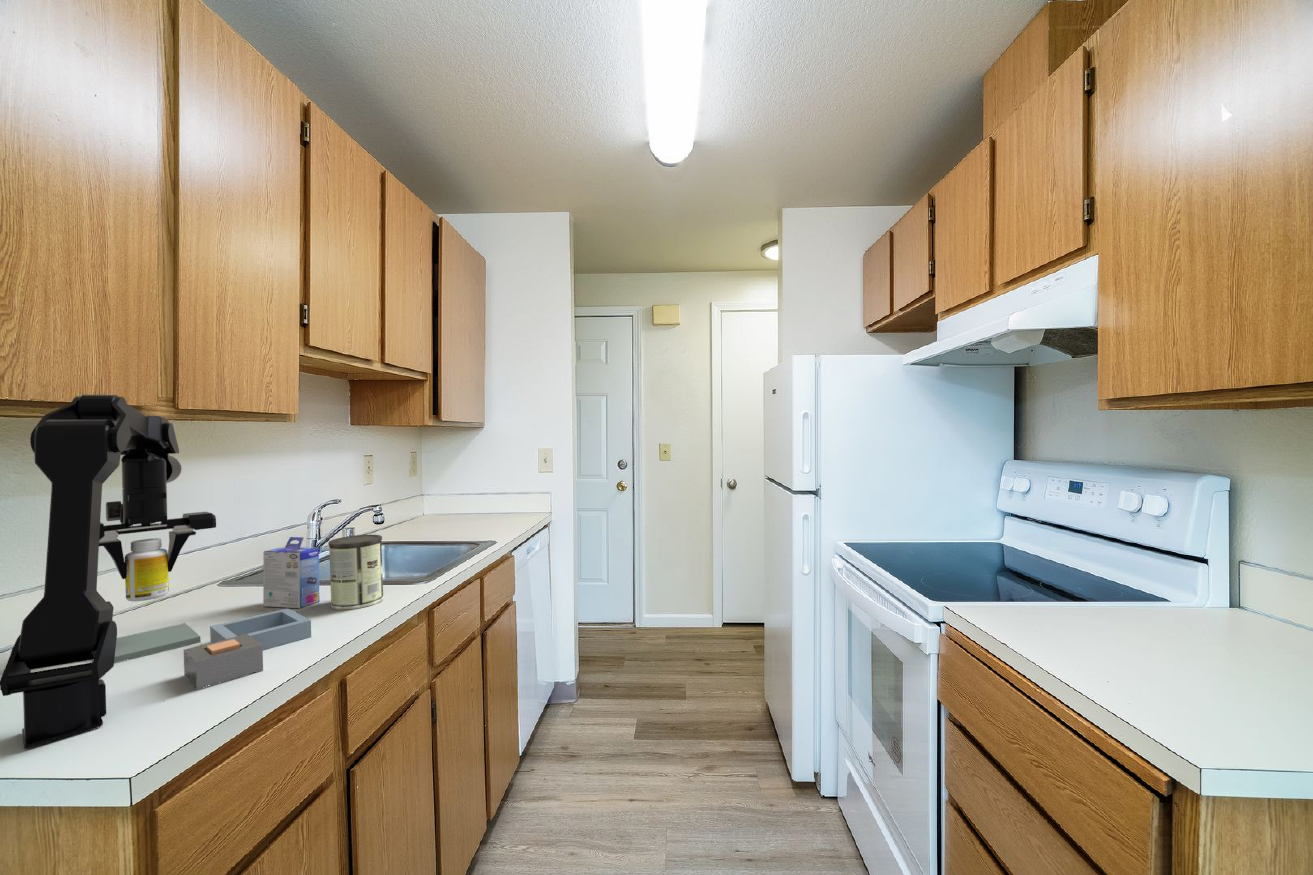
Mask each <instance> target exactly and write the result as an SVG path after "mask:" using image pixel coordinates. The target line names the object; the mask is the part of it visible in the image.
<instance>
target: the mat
mask: <svg viewBox="0 0 1313 875" xmlns="http://www.w3.org/2000/svg"><path fill="white" fill-rule="evenodd" d="M201 639H202V638H201V635H200V634H198V632H196V631H195V630H194V629H193V628H191V627H190V626H189V625H188V624H187V623H186V622H184V623H179V624H175V625H170V626H165V627H160V628H156V629H151V630H148V631H141V632H138V633H133V634H129V635H124V636H120V637H117V640H116V649H115V659H114V664H116V662H117V663H120V661H121V662H124V660H125V661H128V660H127V659H129V660H132V659H133V660H134V659H136V658H141V657H145V655H146V656H150V655H153V654H158V653H162V652H166V651H169V650H174V649H179V648H182V647H185V646H191V645H194V644H198V643H201Z"/></svg>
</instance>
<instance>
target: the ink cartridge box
mask: <svg viewBox="0 0 1313 875" xmlns="http://www.w3.org/2000/svg"><path fill="white" fill-rule="evenodd" d="M293 541H294V542H295V541H297V542H298V543H291V542H293ZM303 541H304V537H303V536H302V537H301V536H300V537H299V536H289V538H288V540H287V542H286V544H285V546H284V547H277V548H272V549H268V550H264V551H263V556H262V557H263V558H262V559H263V566H262V567H263V568H262V569H263V577H262V578H263V582H262V583H263V589H262V590H263V593H262V594H263V597H262V598H263V599H262V600H263V603H262V606H263V607H272V608H275V607H276V608H286V609H287V608H288V609H290V608H291V609H292V608H293V609H301V608H304V607H307V606H310V605H314V604H317V603H320V548H319V547H317V546H316V547H311V546H310V547H309V546H307V547H306V546H305V547H304V546H302V543H303ZM301 546H302V547H301Z"/></svg>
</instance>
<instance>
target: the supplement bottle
mask: <svg viewBox="0 0 1313 875" xmlns="http://www.w3.org/2000/svg"><path fill="white" fill-rule="evenodd" d="M162 545H163V544H162V538H143V539H138V540H137V539H136V540H133V541H131V542H130V552H128V553H126V554H125V555H124V562H125V567H126V579H124V580H125V581H124V582H125V584H124V585H125V599H126V600H127V601H128V602H145V601H150V600H154V599H155V600H156V599H159V598H162V597H164V596H167V595H168V594H169V587H170V586H169V572H168V549H165V548H162Z"/></svg>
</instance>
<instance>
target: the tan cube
mask: <svg viewBox="0 0 1313 875" xmlns="http://www.w3.org/2000/svg"><path fill="white" fill-rule="evenodd" d="M206 647H207V652H208V653H209V654H210V655H211V654H215V653H218V652H222V651H226V650H230V649H234V648H238V647H240V644H239V643H238V642H237V641H236V640H234V639H232V640H228V641H224V642H220V643H216V644H212V645H208V646H206Z"/></svg>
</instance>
